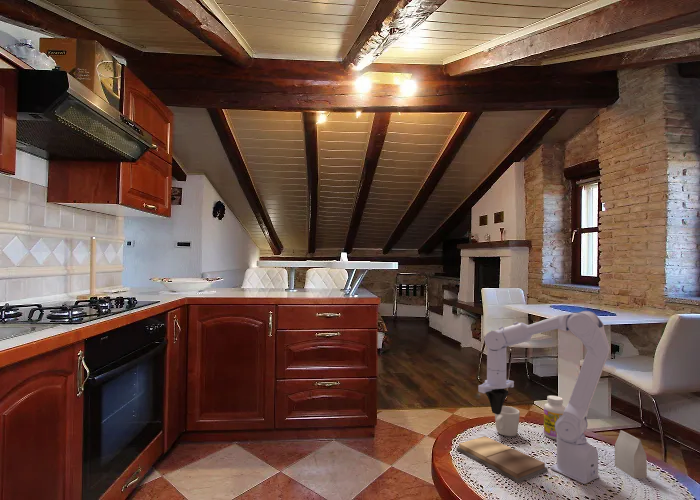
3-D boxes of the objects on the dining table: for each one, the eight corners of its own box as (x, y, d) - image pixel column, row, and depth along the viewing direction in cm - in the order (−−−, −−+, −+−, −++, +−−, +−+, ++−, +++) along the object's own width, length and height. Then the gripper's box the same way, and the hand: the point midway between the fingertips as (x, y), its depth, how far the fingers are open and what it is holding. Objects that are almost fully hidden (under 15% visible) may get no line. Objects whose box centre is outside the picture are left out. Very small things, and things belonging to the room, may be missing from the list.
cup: (508, 443, 125) (509, 417, 126) (485, 435, 131) (485, 410, 132) (523, 434, 132) (523, 410, 133) (501, 427, 138) (501, 403, 139)
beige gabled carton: (634, 478, 105) (633, 440, 106) (614, 465, 112) (614, 430, 113) (646, 478, 106) (646, 440, 106) (626, 465, 113) (626, 430, 113)
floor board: (547, 470, 108) (547, 463, 108) (518, 483, 101) (518, 475, 101) (485, 441, 126) (485, 435, 126) (456, 450, 119) (456, 443, 119)
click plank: (511, 452, 117) (511, 448, 117) (485, 461, 111) (485, 456, 111) (484, 439, 125) (484, 436, 125) (459, 447, 119) (459, 443, 119)
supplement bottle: (539, 433, 134) (539, 395, 134) (554, 431, 136) (554, 393, 136) (554, 441, 127) (555, 401, 128) (570, 439, 129) (570, 400, 130)
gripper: (500, 363, 130) (500, 405, 130) (470, 368, 123) (470, 412, 122) (519, 368, 124) (519, 412, 124) (489, 373, 117) (488, 420, 116)
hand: (496, 413), depth 122 cm, fingers closed
